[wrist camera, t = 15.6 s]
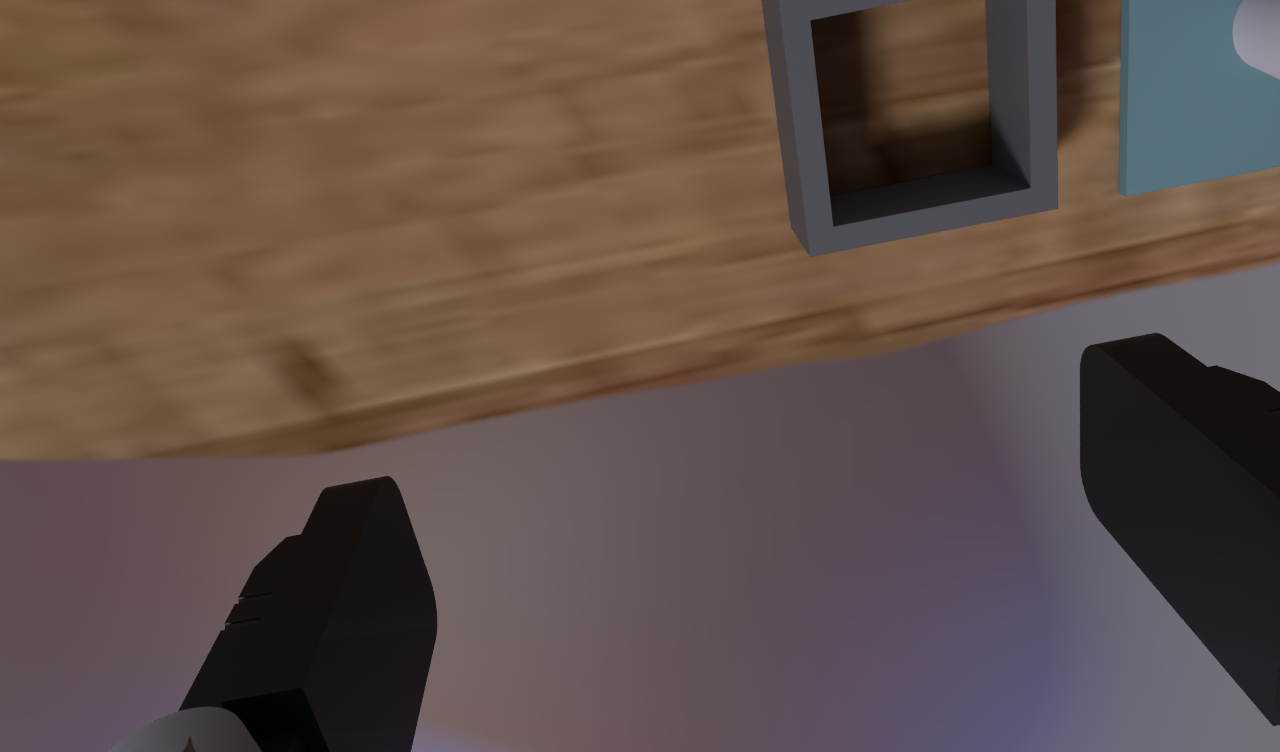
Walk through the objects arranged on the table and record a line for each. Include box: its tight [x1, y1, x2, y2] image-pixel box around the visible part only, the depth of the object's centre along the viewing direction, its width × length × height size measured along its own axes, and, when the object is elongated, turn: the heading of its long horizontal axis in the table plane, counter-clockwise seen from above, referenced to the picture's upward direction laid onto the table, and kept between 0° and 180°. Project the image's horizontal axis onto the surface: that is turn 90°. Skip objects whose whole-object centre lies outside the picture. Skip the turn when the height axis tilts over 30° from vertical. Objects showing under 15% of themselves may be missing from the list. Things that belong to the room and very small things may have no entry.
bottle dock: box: [762, 0, 1058, 257], centre depth 38 cm, size 10×10×4 cm
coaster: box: [1119, 0, 1280, 196], centre depth 38 cm, size 12×12×1 cm
